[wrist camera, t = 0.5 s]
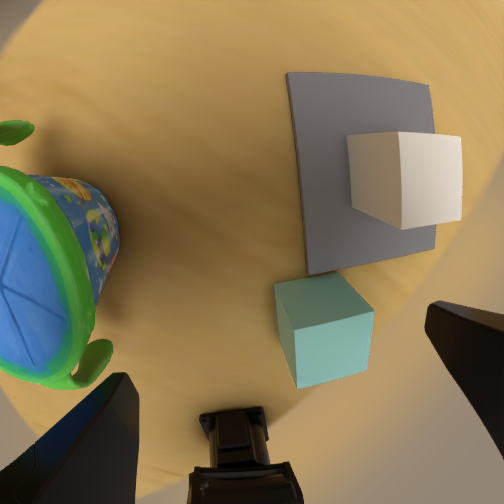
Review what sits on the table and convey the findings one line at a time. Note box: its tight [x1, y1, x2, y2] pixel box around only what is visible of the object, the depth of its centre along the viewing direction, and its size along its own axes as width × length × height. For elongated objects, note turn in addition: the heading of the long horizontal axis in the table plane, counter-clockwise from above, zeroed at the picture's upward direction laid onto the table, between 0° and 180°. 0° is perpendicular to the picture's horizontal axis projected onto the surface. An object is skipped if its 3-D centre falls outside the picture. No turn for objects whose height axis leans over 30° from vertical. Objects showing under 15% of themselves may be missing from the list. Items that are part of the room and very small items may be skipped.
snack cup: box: [0, 120, 120, 390], centre depth 13 cm, size 16×10×10 cm
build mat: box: [286, 72, 436, 275], centre depth 18 cm, size 14×12×1 cm
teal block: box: [274, 272, 375, 389], centre depth 19 cm, size 5×5×6 cm
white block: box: [347, 132, 462, 230], centre depth 15 cm, size 5×5×6 cm
